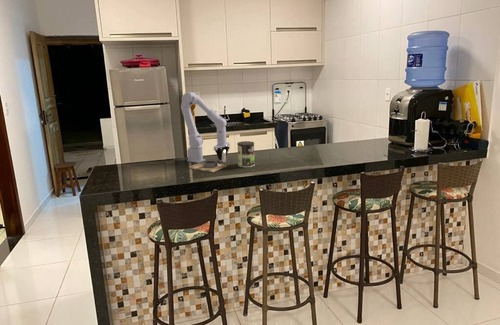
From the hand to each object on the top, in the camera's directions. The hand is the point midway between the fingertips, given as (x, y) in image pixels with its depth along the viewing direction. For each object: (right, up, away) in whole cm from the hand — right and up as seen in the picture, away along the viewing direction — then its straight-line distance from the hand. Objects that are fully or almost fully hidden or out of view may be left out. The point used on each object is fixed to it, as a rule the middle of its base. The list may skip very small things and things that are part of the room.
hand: (222, 158), depth 234 cm
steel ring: (-6, -6, -13) cm, 15 cm away
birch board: (-8, -5, -12) cm, 15 cm away
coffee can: (+15, -4, -9) cm, 18 cm away
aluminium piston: (0, -2, 0) cm, 2 cm away
